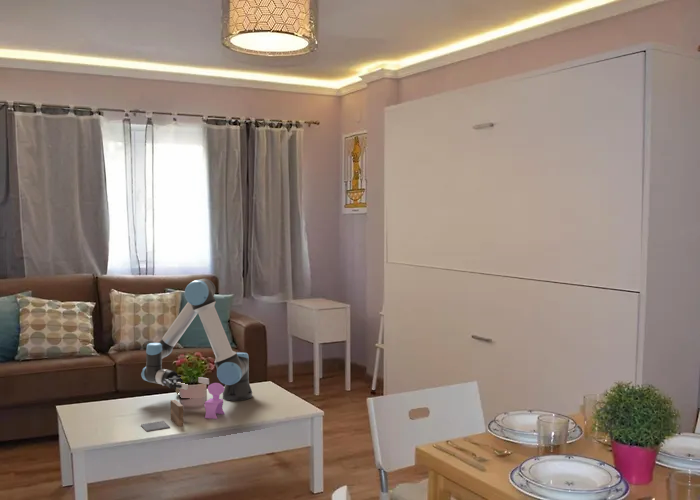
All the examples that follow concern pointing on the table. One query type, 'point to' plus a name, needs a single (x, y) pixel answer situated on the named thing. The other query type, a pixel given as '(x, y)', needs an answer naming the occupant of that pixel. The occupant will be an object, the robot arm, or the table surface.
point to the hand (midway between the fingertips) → (198, 384)
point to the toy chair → (214, 401)
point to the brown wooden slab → (177, 412)
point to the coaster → (155, 426)
